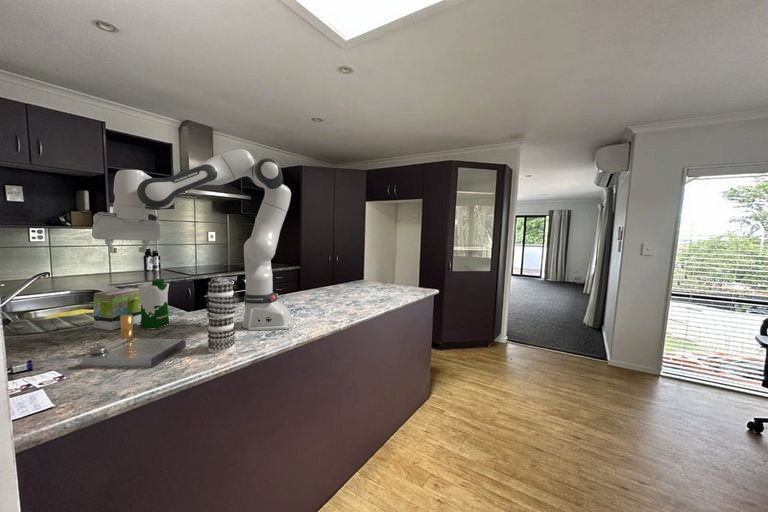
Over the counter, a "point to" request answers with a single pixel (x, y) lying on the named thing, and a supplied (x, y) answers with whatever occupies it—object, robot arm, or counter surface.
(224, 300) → the decorative candle
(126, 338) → the lever
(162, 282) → the milk carton
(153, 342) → the grey lever board
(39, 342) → the counter surface
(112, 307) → the tea box
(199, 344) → the counter surface
